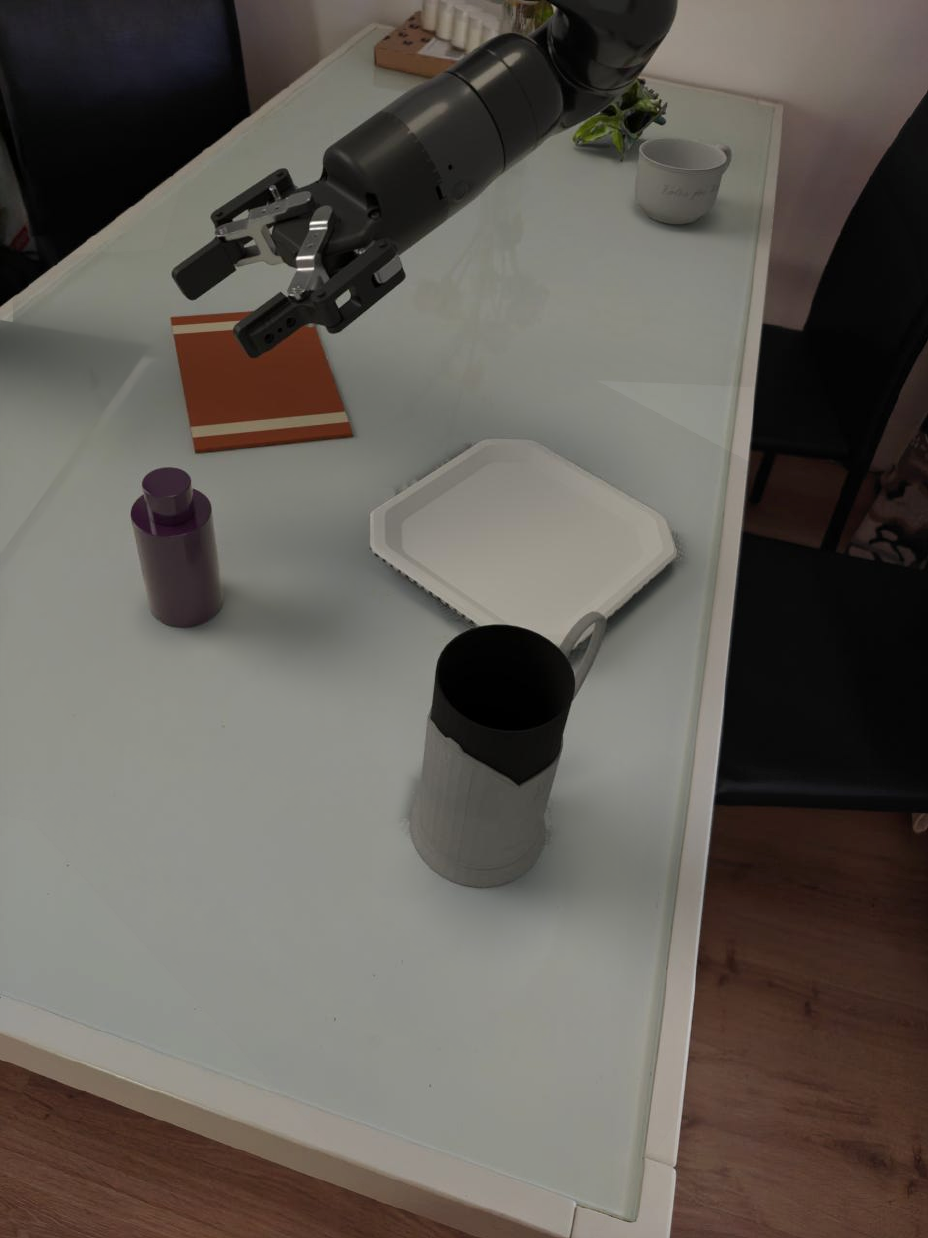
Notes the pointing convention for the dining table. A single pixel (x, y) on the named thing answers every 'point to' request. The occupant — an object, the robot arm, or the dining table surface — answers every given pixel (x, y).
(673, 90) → the dining table surface
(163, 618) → the bottle
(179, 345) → the towel
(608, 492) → the plate
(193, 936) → the dining table surface
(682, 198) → the teacup
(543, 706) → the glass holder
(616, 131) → the green leafy clump
